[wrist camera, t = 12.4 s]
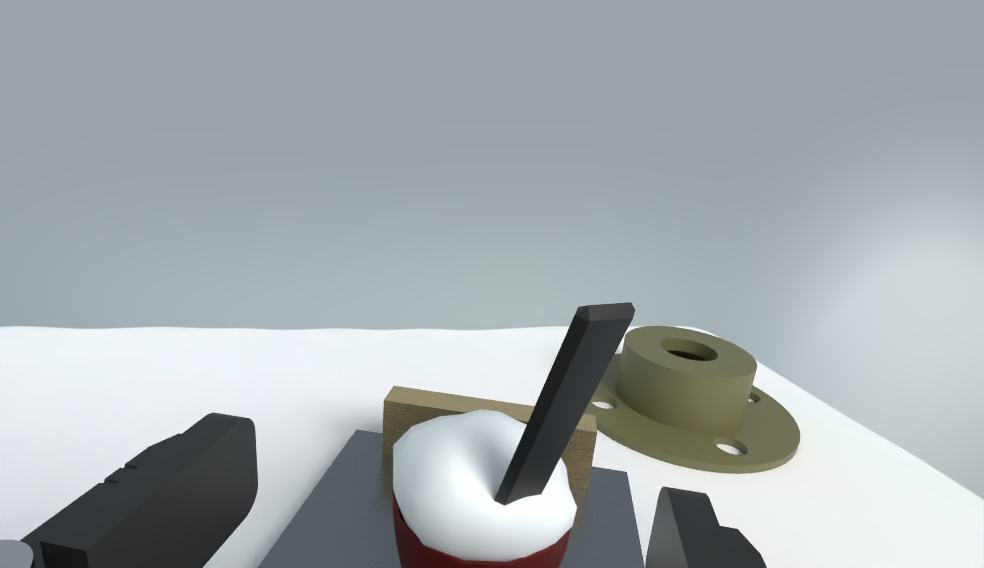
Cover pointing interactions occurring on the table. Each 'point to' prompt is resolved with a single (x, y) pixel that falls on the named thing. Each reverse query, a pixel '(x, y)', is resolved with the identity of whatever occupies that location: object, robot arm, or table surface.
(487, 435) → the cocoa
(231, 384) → the table surface
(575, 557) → the plate
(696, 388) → the flange
